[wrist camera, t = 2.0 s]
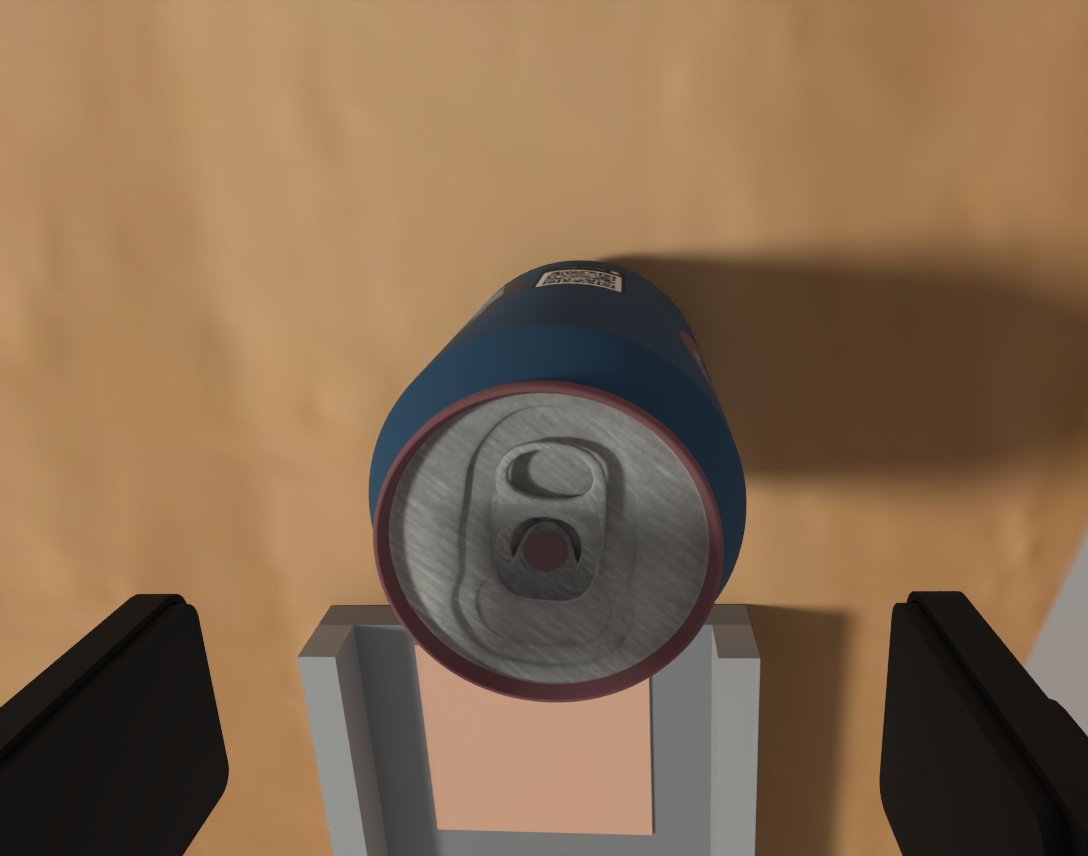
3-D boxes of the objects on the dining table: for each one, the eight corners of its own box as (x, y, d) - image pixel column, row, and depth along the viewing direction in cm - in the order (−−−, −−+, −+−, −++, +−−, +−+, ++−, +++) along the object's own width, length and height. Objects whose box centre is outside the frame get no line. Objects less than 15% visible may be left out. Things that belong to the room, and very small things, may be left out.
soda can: (684, 487, 25) (733, 755, 14) (464, 468, 26) (340, 711, 14) (711, 263, 23) (796, 365, 12) (471, 246, 24) (329, 329, 12)
